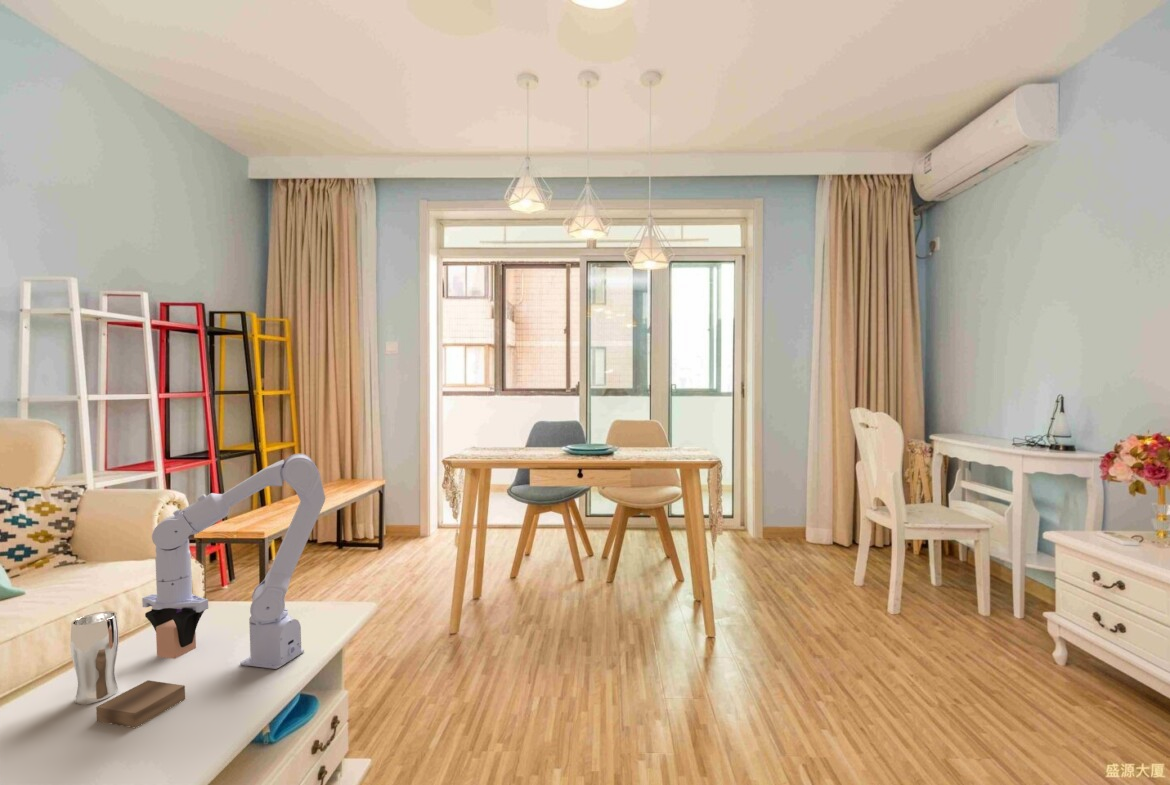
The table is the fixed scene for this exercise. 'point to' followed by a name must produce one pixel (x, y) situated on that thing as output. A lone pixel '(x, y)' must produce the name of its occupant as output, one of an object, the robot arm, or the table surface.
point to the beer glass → (95, 655)
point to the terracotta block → (171, 641)
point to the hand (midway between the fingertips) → (176, 643)
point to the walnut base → (140, 703)
